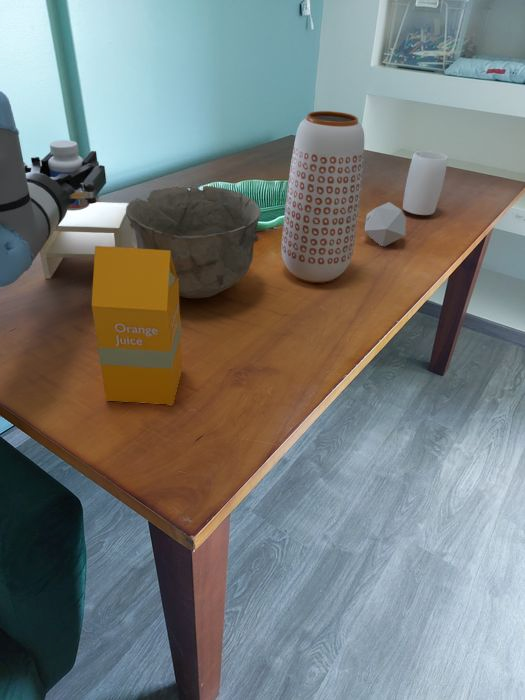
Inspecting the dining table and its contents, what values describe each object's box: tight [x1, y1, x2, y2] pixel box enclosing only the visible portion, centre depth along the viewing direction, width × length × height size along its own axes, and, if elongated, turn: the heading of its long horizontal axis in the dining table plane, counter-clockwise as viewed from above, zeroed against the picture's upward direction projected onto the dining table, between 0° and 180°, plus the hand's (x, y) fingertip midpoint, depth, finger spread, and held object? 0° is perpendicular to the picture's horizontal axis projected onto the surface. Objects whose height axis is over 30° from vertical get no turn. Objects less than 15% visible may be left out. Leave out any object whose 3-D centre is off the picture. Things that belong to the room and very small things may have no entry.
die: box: [364, 201, 407, 247], centre depth 114 cm, size 8×9×10 cm
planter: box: [280, 110, 365, 284], centre depth 94 cm, size 13×13×28 cm
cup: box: [402, 150, 449, 216], centre depth 128 cm, size 8×8×14 cm
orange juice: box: [91, 246, 183, 406], centre depth 66 cm, size 8×9×20 cm
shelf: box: [39, 201, 135, 279], centre depth 98 cm, size 14×12×10 cm
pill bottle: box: [48, 139, 89, 211], centre depth 84 cm, size 6×5×10 cm
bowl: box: [126, 185, 262, 299], centre depth 91 cm, size 22×22×15 cm
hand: (75, 158), depth 88 cm, fingers closed on pill bottle, 5 cm apart
